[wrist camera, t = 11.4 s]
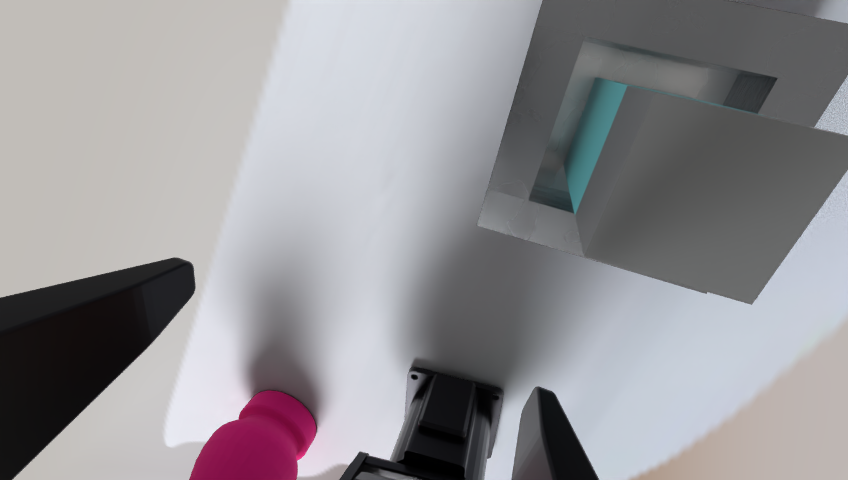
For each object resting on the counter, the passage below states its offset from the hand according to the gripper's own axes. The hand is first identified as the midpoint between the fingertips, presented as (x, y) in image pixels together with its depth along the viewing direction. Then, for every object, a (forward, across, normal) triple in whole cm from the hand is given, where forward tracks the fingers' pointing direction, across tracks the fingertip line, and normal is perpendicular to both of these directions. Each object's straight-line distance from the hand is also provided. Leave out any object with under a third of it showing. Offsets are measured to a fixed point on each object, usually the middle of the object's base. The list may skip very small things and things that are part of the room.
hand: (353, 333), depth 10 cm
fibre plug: (+13, -7, -4) cm, 15 cm away
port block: (+13, -7, -4) cm, 16 cm away
